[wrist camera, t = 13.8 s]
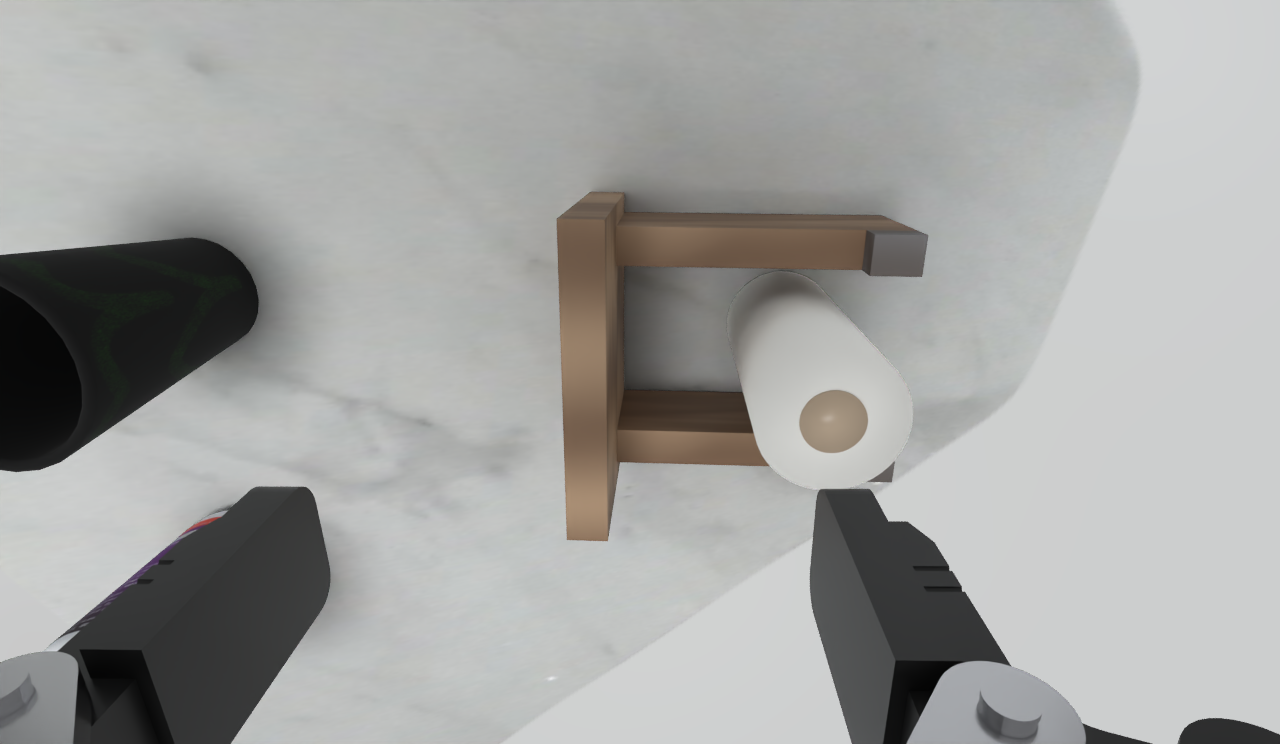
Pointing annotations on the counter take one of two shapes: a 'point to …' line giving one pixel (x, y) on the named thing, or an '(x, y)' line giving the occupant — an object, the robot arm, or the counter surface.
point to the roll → (815, 385)
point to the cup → (107, 336)
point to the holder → (594, 332)
